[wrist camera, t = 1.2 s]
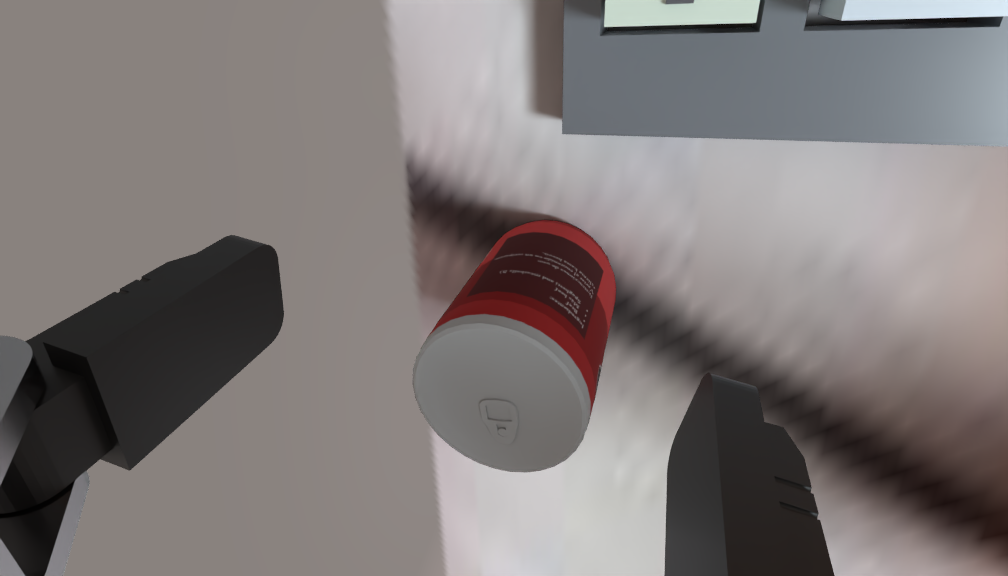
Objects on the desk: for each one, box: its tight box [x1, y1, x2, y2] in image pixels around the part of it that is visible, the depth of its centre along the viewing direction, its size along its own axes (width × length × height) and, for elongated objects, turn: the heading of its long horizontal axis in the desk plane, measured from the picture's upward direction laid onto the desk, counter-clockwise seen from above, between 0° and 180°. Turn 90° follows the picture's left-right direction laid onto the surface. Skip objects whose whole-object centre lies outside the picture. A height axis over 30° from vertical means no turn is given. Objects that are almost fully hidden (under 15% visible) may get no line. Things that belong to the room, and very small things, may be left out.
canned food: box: [413, 220, 616, 472], centre depth 26 cm, size 8×8×11 cm
